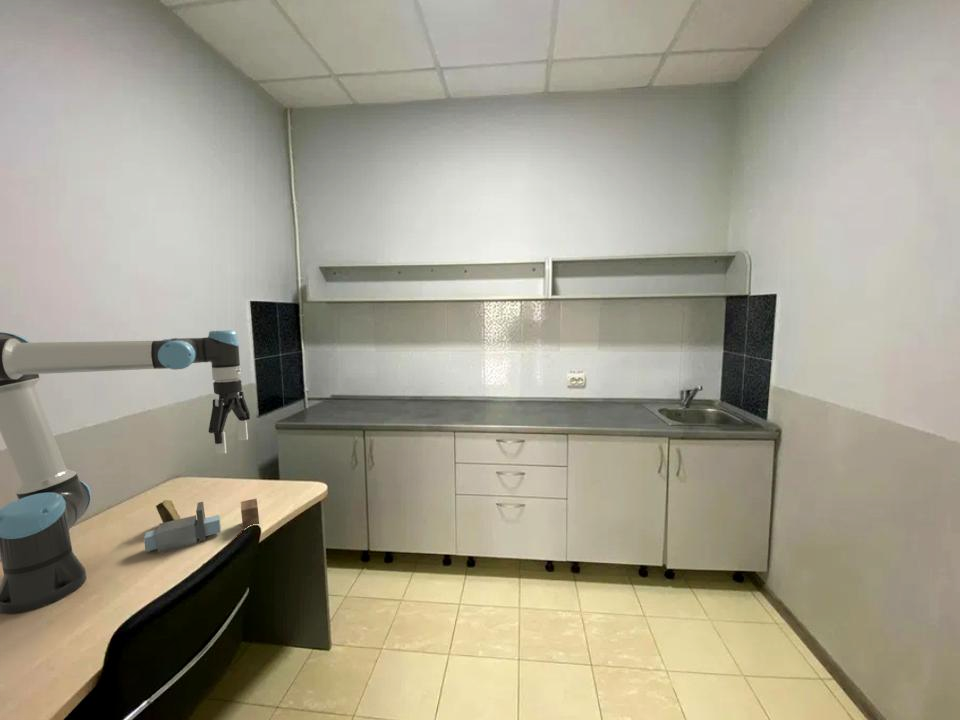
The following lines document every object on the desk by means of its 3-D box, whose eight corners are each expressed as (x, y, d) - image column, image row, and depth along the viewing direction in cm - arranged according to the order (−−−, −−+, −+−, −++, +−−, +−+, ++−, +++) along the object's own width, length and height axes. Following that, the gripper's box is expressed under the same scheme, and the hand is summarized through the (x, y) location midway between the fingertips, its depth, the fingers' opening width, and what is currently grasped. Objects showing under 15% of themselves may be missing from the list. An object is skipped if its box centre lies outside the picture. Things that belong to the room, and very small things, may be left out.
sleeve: (158, 553, 118) (155, 533, 117) (162, 543, 123) (159, 523, 122) (196, 543, 122) (194, 524, 121) (198, 534, 128) (196, 515, 127)
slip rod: (145, 555, 116) (140, 523, 115) (149, 545, 121) (144, 514, 120) (220, 536, 125) (217, 506, 124) (221, 527, 131) (217, 498, 129)
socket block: (243, 532, 128) (241, 510, 127) (242, 522, 134) (240, 501, 133) (259, 527, 130) (257, 506, 129) (258, 518, 136) (256, 498, 135)
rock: (160, 514, 137) (140, 525, 127) (176, 491, 138) (158, 500, 128) (189, 530, 138) (173, 542, 128) (205, 508, 139) (190, 518, 130)
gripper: (217, 386, 117) (224, 459, 119) (257, 374, 141) (262, 434, 144) (189, 387, 116) (196, 460, 118) (234, 374, 141) (240, 435, 143)
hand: (232, 446), depth 131 cm, fingers open, 13 cm apart
